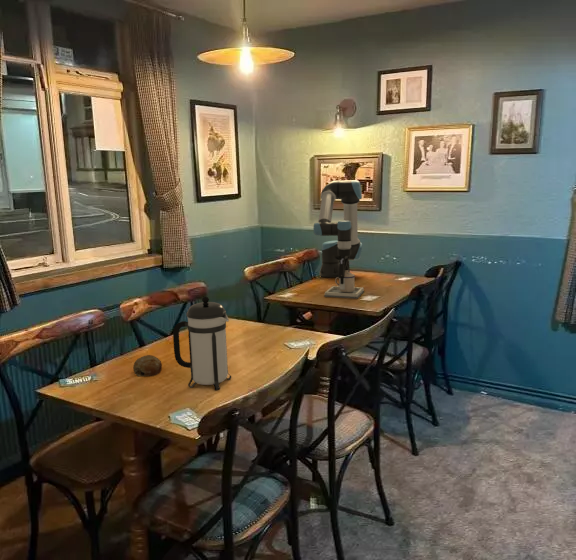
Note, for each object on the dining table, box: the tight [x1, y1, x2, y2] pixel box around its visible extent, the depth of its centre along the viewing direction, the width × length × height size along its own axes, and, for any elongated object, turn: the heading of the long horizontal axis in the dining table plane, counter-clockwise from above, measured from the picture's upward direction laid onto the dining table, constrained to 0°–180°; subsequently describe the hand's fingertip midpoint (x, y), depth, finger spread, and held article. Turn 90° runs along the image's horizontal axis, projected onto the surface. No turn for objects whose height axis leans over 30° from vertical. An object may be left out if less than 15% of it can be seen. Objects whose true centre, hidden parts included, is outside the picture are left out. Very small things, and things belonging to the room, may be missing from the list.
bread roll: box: [133, 354, 163, 377], centre depth 189 cm, size 10×10×8 cm
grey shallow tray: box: [323, 285, 365, 299], centre depth 301 cm, size 17×19×2 cm
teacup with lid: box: [334, 270, 356, 292], centre depth 300 cm, size 12×9×12 cm
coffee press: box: [172, 296, 232, 391], centre depth 175 cm, size 17×16×30 cm
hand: (344, 287), depth 301 cm, fingers closed on teacup with lid, 9 cm apart
